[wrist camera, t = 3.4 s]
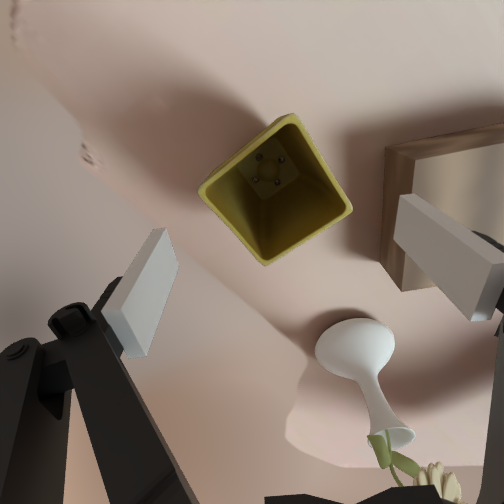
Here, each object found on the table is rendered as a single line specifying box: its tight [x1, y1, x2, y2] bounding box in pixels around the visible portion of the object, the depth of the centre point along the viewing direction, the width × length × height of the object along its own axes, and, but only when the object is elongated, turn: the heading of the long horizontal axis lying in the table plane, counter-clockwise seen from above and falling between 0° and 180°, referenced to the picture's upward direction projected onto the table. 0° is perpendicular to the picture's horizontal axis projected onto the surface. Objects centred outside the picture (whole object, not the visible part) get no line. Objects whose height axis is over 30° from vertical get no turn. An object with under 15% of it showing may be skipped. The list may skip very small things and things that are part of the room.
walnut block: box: [380, 123, 504, 292], centre depth 28 cm, size 14×14×6 cm
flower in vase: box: [315, 318, 467, 504], centre depth 30 cm, size 13×11×25 cm
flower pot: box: [197, 113, 353, 266], centre depth 24 cm, size 9×9×9 cm
